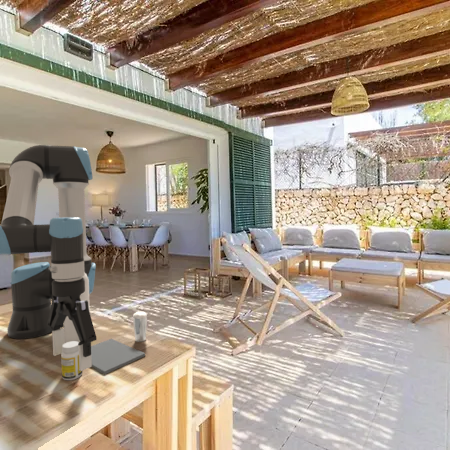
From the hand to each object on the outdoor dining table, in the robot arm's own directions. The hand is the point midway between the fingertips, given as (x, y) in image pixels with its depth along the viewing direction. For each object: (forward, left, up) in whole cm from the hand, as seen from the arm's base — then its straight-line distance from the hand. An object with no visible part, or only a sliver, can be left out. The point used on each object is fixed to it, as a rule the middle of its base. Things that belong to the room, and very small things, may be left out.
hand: (71, 360), depth 84 cm
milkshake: (-4, +25, -4) cm, 26 cm away
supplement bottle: (0, 0, -4) cm, 4 cm away
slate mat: (-3, +12, -4) cm, 13 cm away
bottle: (-20, +12, -4) cm, 24 cm away
